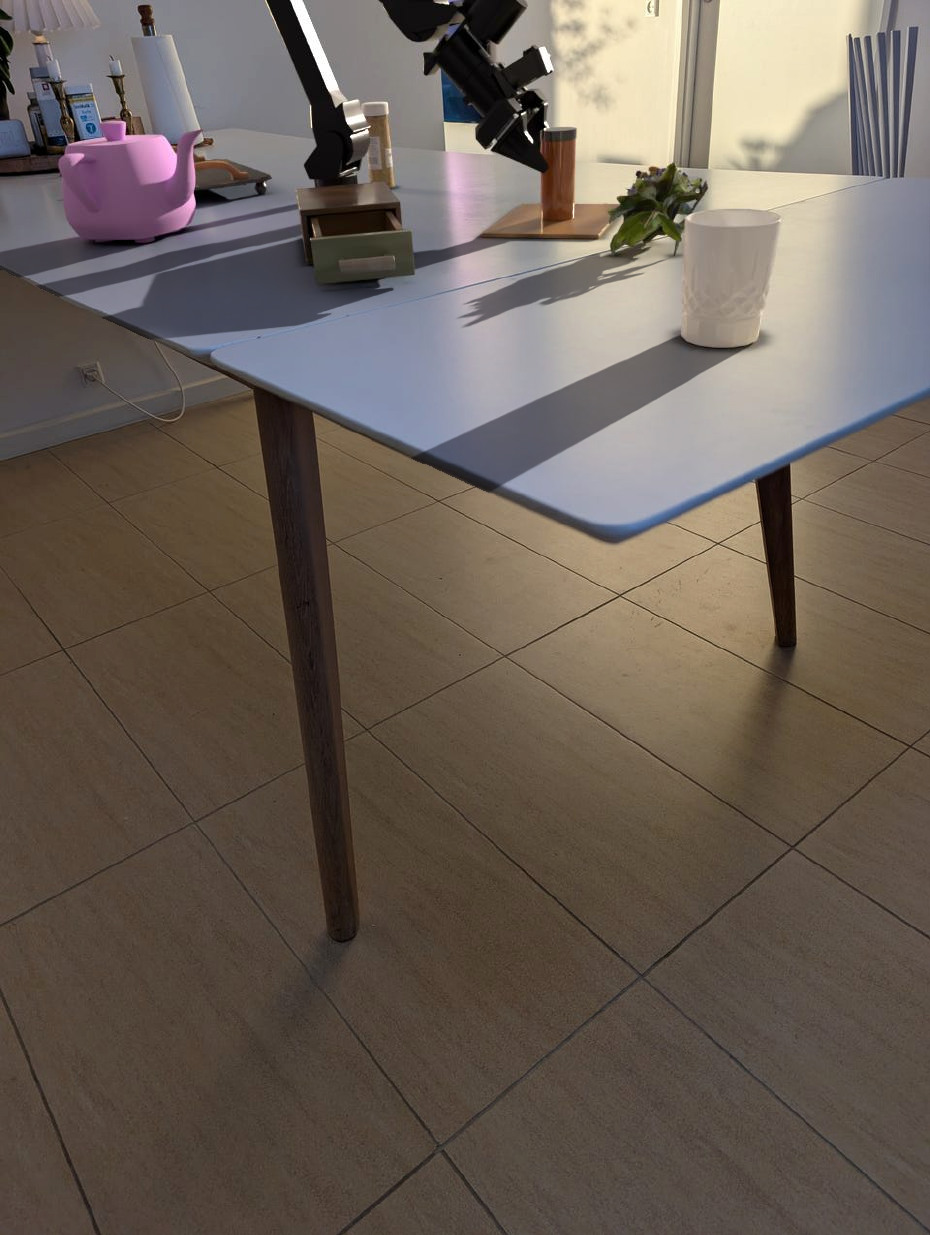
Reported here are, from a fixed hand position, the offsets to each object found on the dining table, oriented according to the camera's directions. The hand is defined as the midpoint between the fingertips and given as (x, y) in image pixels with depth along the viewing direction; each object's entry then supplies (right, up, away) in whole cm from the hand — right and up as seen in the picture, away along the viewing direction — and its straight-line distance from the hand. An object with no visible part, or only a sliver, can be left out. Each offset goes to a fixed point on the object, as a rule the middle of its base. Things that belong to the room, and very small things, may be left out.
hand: (554, 165), depth 123 cm
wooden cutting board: (+1, -6, +4) cm, 7 cm away
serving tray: (-65, +19, +46) cm, 81 cm away
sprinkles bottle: (-27, +15, +37) cm, 48 cm away
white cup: (+10, -38, -43) cm, 58 cm away
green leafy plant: (+11, -18, -14) cm, 25 cm away
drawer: (-25, -21, -18) cm, 37 cm away
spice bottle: (+1, -6, +4) cm, 7 cm away
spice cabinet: (-28, -13, -4) cm, 31 cm away
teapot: (-61, -5, +10) cm, 62 cm away
